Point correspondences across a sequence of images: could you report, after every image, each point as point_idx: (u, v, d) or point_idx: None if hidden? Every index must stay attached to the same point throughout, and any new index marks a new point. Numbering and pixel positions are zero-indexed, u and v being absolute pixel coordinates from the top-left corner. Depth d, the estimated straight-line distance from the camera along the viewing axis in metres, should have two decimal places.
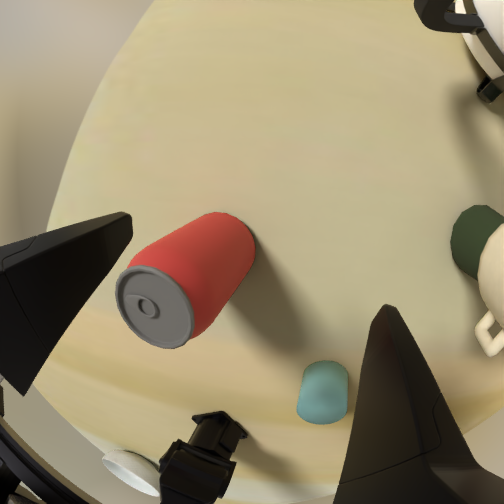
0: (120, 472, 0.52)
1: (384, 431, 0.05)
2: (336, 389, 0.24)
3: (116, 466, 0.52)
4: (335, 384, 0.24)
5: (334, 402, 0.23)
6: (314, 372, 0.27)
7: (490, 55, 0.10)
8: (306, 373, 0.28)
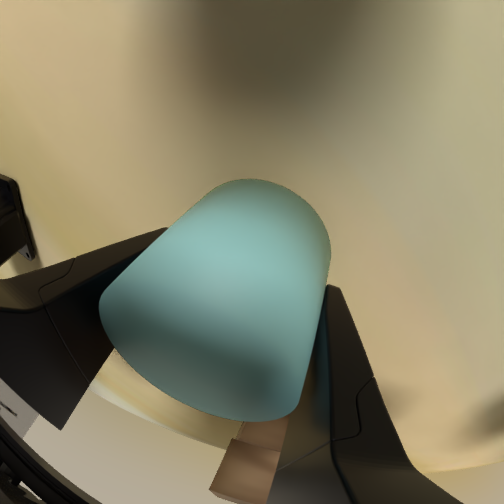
0: None
1: (309, 415, 0.05)
2: (306, 337, 0.06)
3: None
4: (310, 311, 0.06)
5: (263, 385, 0.05)
6: (257, 206, 0.07)
7: None
8: (223, 192, 0.08)
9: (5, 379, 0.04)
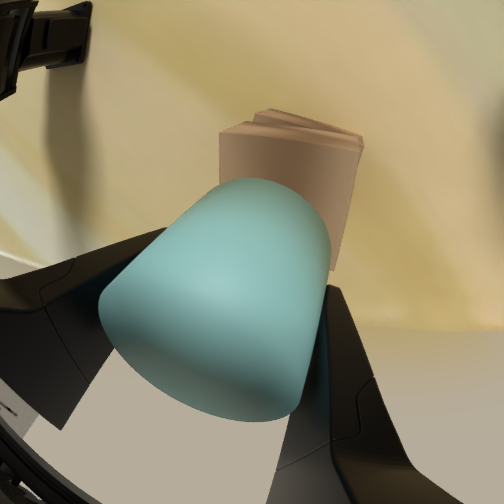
0: None
1: (309, 415, 0.05)
2: (307, 337, 0.05)
3: None
4: (311, 310, 0.06)
5: (264, 385, 0.05)
6: (257, 205, 0.07)
7: None
8: (223, 191, 0.08)
9: (5, 379, 0.04)
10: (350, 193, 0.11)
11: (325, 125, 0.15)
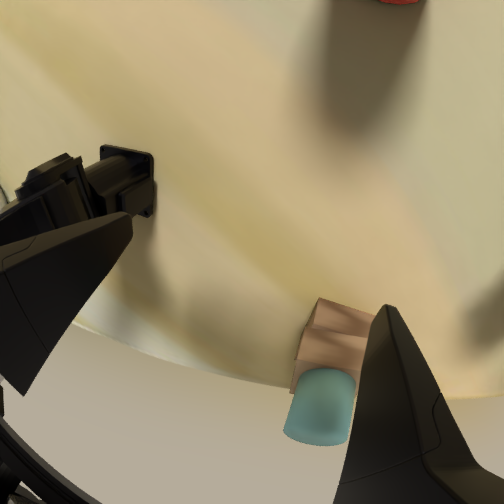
0: None
1: (384, 432, 0.05)
2: (349, 425, 0.17)
3: None
4: (350, 417, 0.18)
5: (337, 438, 0.17)
6: (335, 387, 0.19)
7: None
8: (322, 379, 0.20)
9: None
10: None
11: (354, 315, 0.24)
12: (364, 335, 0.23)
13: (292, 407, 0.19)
